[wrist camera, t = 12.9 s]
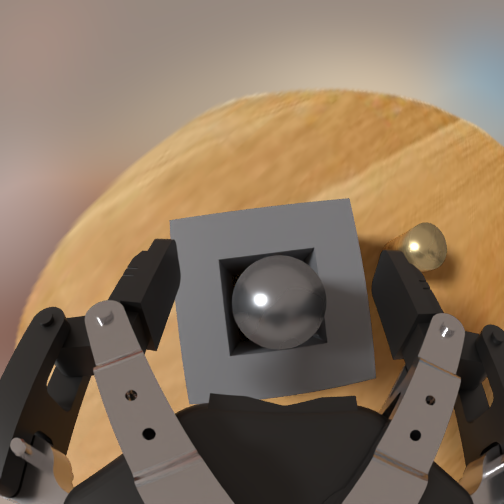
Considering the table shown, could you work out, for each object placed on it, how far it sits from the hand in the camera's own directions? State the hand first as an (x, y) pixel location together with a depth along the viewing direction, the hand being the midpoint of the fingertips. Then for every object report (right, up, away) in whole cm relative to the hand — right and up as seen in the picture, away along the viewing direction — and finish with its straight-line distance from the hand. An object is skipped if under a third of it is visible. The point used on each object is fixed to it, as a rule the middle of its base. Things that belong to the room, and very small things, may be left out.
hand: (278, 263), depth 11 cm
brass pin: (+11, 0, +11) cm, 15 cm away
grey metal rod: (0, -4, +10) cm, 11 cm away
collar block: (0, -3, +10) cm, 11 cm away
